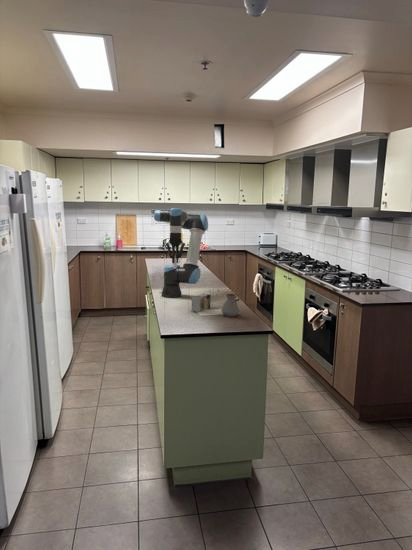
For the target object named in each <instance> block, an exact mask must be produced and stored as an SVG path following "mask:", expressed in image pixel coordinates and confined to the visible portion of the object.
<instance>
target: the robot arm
mask: <svg viewBox="0 0 412 550" xmlns="http://www.w3.org/2000/svg"><path fill="white" fill-rule="evenodd" d="M153 218H154V221H155V222H162V223H168V224H169V239H168V242H166V243H165V246H166V247H167V254H168V257H169V259H171V263H172V264H169V265H166V266H164V268H163V287H162V290H161V297H162V298H166V299H175V298H176V299H177V298H181V297H183V296H182V295H183V294H182V290H181V286H180V284H189V285H196V284H197V283H198V282H199V281H200V278H201V269H200V266H199V265H198V264H199V263H198V262H199V257H200V250H201V244H202V240H203V239H202V238H203V235H204V234H205V232H207V231H208V229H209V220H208V217H207V216H206V214H201V213H200V214H194V213H193V214H192V213H191V214H190V213H189V214H188V212H186V211H185V210H183V209H182V208H179V207H178V208H177V207H176V208H175V207H172V208H170V210H163V209H160V210H159V209H157V210H155V211H154V215H153ZM182 229H183V230H189V231H188V232H190V236H189V243H188V248H187V254H186V259H185V262H184V263H183V264H182V265H183V266H181V265H180V264H179V259H180V258H182V254H183V250H184V247H185V245H186V243H185V242H184V241H183V240H182ZM170 245H171V247H170ZM179 248H180V249H179Z"/></svg>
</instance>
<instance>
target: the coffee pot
mask: <svg viewBox="0 0 412 550" xmlns="http://www.w3.org/2000/svg"><path fill="white" fill-rule="evenodd" d="M225 296H226V300H225V302H224V304H223V306H222V308H221V309H222V313H223V314H224V315H223V316H226V317H230V318H231V317H232V318H233V317H236V316H238V315H239V313H240V312H241V311H240V308H239V305H238V303H241V299H240V298H237V297H238V295H237V294H235V293H227V294H226V295H225ZM236 298H237V299H236Z"/></svg>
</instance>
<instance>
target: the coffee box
mask: <svg viewBox="0 0 412 550" xmlns="http://www.w3.org/2000/svg"><path fill="white" fill-rule="evenodd" d="M211 297H212V296H211V294H210V293H209V294H208V293H201V294H198V295H196V296H192V297H191V312H196V313H197V312H201V311H203V310H209V309H211Z"/></svg>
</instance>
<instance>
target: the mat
mask: <svg viewBox="0 0 412 550" xmlns="http://www.w3.org/2000/svg"><path fill="white" fill-rule="evenodd" d="M196 313H197V314H198V315H199V316H201V317H207V316H225V315H224V314H223V313H222V308H213V309H211V308H209V309H206V310H203V311H201V312H196Z"/></svg>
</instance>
